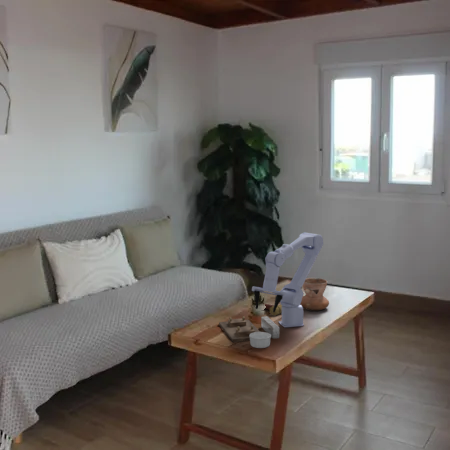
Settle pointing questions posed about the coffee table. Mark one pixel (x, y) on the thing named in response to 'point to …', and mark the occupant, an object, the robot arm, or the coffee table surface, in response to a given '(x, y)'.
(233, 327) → the board
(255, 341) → the ramekin
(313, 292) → the clay incense burner
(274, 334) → the steel bar
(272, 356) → the coffee table surface
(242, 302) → the coffee table surface
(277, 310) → the gavel
